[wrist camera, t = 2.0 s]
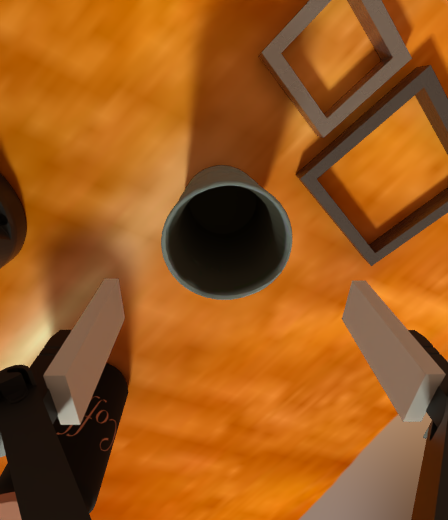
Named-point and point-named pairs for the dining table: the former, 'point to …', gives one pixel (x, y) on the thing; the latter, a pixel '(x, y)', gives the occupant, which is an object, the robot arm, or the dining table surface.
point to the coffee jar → (82, 443)
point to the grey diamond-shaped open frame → (393, 59)
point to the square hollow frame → (416, 83)
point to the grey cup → (226, 235)
